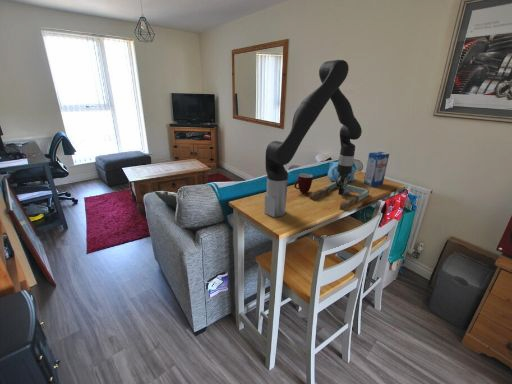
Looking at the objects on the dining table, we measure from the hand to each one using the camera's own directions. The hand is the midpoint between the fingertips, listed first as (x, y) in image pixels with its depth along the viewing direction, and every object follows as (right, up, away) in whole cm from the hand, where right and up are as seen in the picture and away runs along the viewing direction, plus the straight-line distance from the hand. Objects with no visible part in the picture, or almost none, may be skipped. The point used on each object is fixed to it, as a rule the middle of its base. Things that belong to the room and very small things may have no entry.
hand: (340, 193), depth 140 cm
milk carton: (+27, +6, +21) cm, 35 cm away
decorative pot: (+8, +8, +26) cm, 28 cm away
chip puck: (+3, 0, +4) cm, 5 cm away
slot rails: (-5, -3, -5) cm, 8 cm away
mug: (-20, 0, +5) cm, 21 cm away
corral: (+4, 0, +5) cm, 6 cm away
